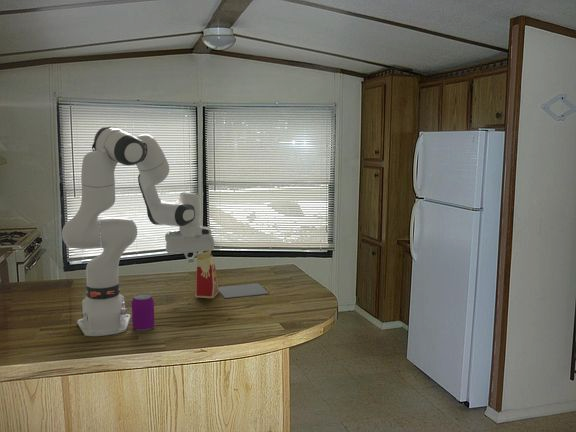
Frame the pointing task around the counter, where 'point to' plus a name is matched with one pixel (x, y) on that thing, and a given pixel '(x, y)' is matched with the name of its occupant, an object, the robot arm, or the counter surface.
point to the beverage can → (143, 312)
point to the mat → (242, 290)
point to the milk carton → (206, 276)
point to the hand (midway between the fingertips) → (190, 262)
